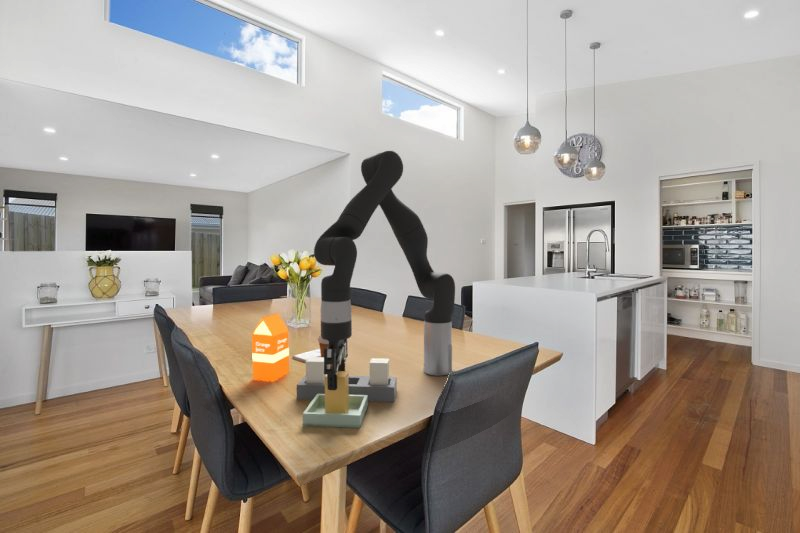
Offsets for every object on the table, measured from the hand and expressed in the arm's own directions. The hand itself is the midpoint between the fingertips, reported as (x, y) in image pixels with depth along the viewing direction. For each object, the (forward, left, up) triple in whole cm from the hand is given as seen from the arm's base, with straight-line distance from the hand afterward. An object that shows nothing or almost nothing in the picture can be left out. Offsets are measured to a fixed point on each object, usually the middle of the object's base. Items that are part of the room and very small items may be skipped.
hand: (336, 382), depth 91 cm
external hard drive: (+21, -48, -9) cm, 53 cm away
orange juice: (+28, -26, -8) cm, 39 cm away
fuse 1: (+9, -13, -8) cm, 18 cm away
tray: (0, 0, -8) cm, 8 cm away
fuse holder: (0, -13, -8) cm, 15 cm away
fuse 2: (-9, -13, -8) cm, 18 cm away
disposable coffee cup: (+10, -34, -8) cm, 36 cm away
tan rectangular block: (0, 0, -8) cm, 8 cm away
